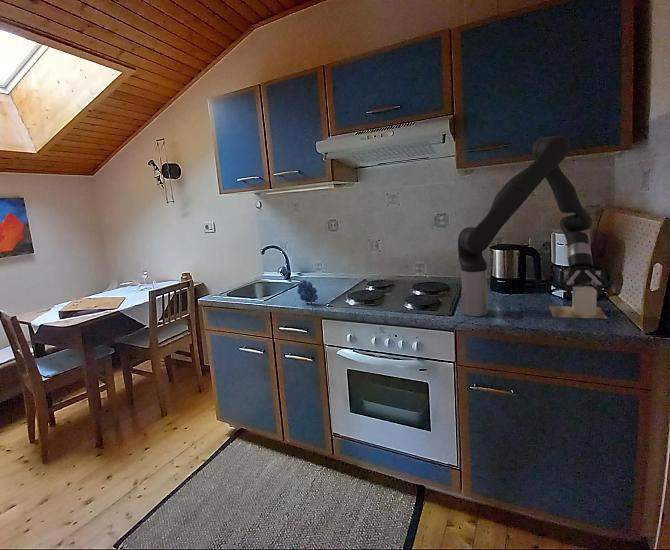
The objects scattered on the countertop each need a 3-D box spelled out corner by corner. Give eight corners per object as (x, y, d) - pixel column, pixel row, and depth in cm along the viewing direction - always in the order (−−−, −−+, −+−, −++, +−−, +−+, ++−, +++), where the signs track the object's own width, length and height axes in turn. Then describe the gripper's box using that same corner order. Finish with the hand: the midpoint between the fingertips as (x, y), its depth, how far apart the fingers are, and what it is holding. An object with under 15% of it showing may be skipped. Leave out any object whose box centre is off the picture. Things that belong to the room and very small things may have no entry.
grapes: (293, 306, 187) (290, 282, 184) (301, 302, 192) (299, 278, 190) (313, 307, 180) (310, 282, 178) (321, 303, 186) (318, 279, 184)
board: (552, 319, 135) (552, 316, 135) (549, 308, 146) (549, 306, 146) (607, 321, 128) (607, 318, 128) (599, 309, 140) (599, 307, 140)
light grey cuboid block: (574, 314, 135) (575, 290, 133) (572, 309, 140) (572, 286, 139) (595, 314, 132) (596, 291, 131) (592, 309, 138) (593, 286, 136)
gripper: (558, 252, 142) (561, 290, 134) (604, 251, 136) (611, 290, 128) (556, 264, 148) (559, 301, 140) (600, 263, 142) (606, 301, 134)
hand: (584, 296), depth 134 cm, fingers open, 8 cm apart
